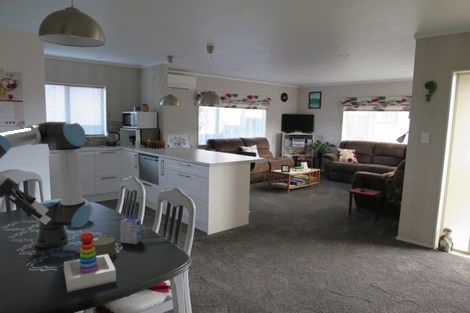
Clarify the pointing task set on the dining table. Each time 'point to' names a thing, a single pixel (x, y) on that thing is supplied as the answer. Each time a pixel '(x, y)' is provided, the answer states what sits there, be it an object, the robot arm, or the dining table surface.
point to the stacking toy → (88, 254)
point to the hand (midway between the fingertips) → (47, 216)
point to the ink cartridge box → (130, 230)
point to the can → (104, 245)
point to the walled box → (89, 274)
